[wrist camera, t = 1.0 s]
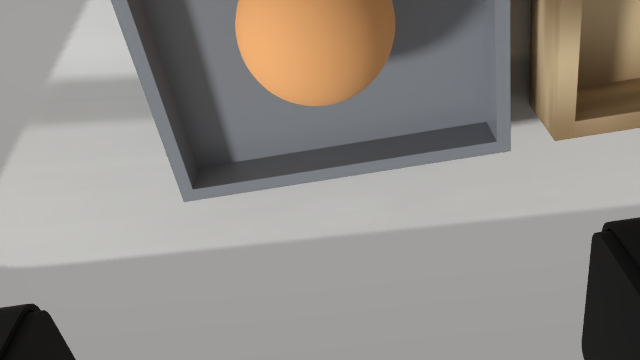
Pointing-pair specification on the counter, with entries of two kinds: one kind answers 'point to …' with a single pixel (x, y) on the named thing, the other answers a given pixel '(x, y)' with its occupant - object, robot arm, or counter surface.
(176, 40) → the container
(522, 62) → the counter surface
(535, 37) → the tray
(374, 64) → the ball
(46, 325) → the robot arm
